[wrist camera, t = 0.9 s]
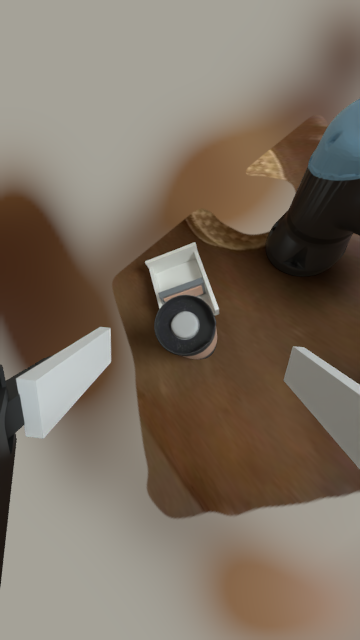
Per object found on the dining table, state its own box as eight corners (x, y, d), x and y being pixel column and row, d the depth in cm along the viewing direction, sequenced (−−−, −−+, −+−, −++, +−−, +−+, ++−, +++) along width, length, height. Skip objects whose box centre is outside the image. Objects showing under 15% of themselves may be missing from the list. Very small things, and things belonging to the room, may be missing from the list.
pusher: (204, 289, 42) (201, 277, 37) (206, 294, 42) (204, 283, 36) (165, 302, 44) (158, 293, 38) (167, 308, 43) (159, 299, 37)
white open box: (197, 256, 46) (195, 242, 40) (218, 313, 41) (218, 306, 36) (153, 273, 47) (145, 261, 42) (168, 330, 43) (161, 325, 37)
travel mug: (177, 335, 42) (143, 311, 23) (207, 320, 41) (197, 282, 22) (192, 366, 40) (168, 367, 21) (223, 350, 39) (228, 337, 20)
